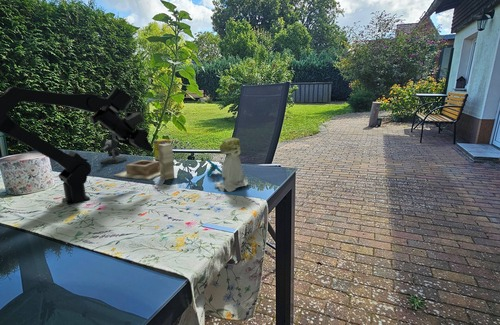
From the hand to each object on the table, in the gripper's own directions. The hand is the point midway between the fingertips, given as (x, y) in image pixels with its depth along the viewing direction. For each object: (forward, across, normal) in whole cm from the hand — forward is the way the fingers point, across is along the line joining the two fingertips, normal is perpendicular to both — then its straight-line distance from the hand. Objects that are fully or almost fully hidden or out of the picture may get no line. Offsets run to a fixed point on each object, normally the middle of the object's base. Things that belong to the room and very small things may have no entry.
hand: (146, 149), depth 108 cm
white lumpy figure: (+22, -28, -3) cm, 36 cm away
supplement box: (+27, +30, -8) cm, 41 cm away
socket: (+13, +14, +6) cm, 20 cm away
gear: (+27, -12, -7) cm, 30 cm away
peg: (+15, 0, +4) cm, 16 cm away
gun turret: (+12, +45, +7) cm, 47 cm away
